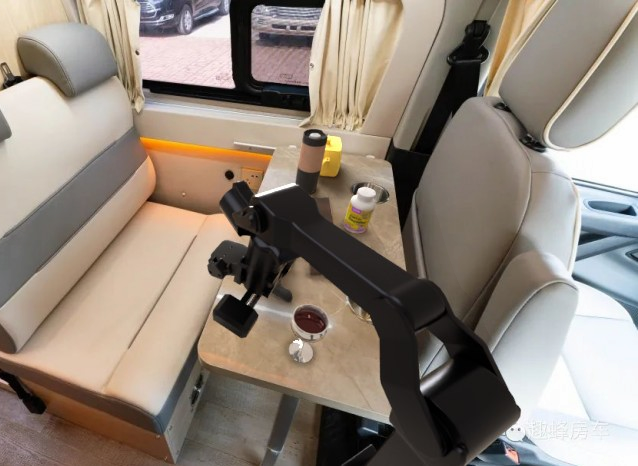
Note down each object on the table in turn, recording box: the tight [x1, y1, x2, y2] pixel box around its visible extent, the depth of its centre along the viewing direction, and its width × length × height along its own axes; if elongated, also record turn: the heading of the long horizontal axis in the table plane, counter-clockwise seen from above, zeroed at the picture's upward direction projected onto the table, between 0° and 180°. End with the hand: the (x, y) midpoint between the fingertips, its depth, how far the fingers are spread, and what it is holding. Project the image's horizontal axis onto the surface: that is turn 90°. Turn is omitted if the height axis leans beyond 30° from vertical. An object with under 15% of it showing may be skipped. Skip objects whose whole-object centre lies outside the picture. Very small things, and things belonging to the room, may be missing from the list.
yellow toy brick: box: [319, 135, 343, 178], centre depth 120 cm, size 20×12×12 cm, turn 167°
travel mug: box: [294, 128, 329, 195], centre depth 107 cm, size 8×8×20 cm
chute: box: [308, 196, 335, 276], centre depth 91 cm, size 25×8×7 cm, turn 177°
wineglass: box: [288, 303, 330, 364], centre depth 65 cm, size 7×7×12 cm
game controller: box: [271, 279, 293, 303], centre depth 82 cm, size 16×7×10 cm, turn 171°
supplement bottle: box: [343, 186, 377, 234], centre depth 94 cm, size 7×7×13 cm
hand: (251, 306), depth 60 cm, fingers open, 9 cm apart
